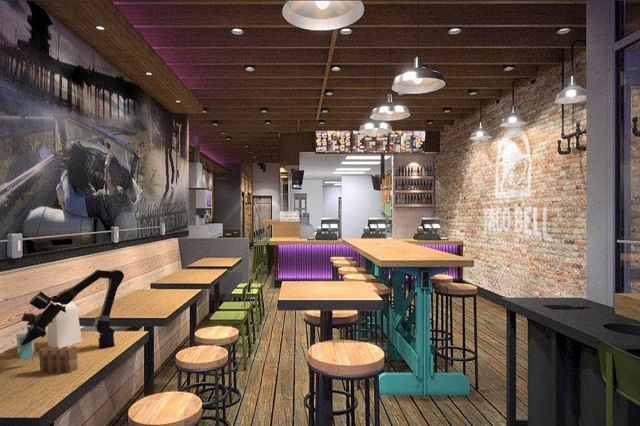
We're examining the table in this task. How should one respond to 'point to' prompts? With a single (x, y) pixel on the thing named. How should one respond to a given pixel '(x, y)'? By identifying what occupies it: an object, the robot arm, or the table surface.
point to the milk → (65, 327)
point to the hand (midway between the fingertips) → (22, 344)
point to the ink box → (22, 334)
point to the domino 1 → (25, 349)
